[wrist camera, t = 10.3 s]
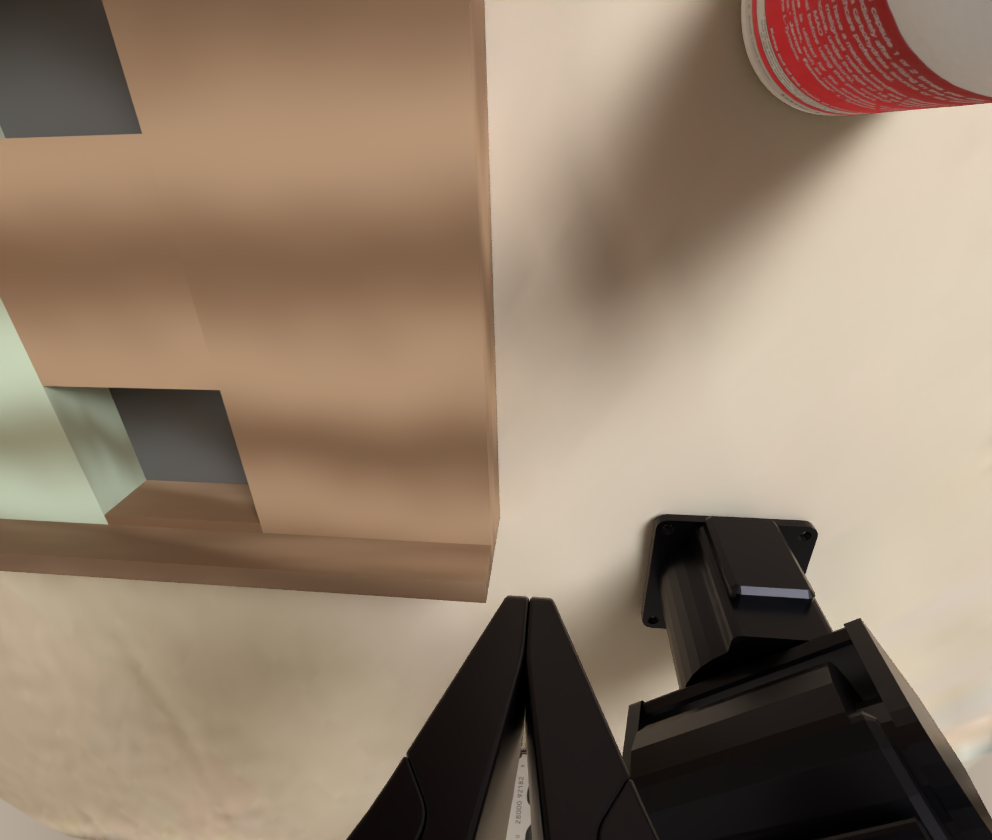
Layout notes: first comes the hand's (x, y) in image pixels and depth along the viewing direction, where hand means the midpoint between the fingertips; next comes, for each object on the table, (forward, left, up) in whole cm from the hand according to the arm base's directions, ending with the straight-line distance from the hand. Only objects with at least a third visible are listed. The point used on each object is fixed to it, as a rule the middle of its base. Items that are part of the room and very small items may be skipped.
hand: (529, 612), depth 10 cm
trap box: (+4, +14, -12) cm, 19 cm away
